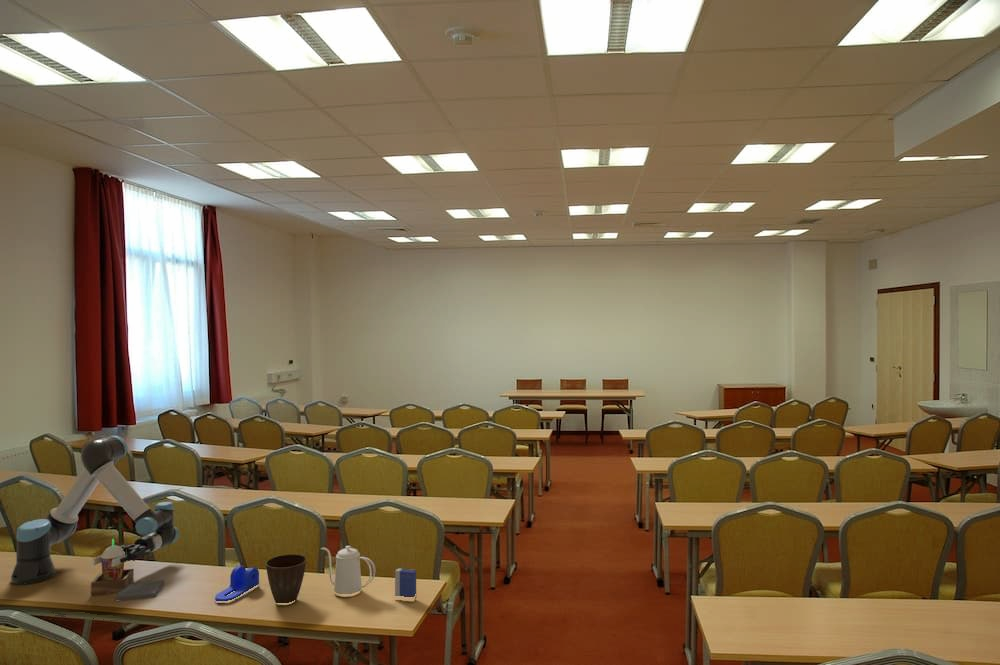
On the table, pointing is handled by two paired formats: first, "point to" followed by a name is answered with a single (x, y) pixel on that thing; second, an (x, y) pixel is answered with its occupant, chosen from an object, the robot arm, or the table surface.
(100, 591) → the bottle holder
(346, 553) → the coffeepot
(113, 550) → the smoothie
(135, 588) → the mat
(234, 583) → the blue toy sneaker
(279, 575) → the plant pot
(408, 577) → the walkman
